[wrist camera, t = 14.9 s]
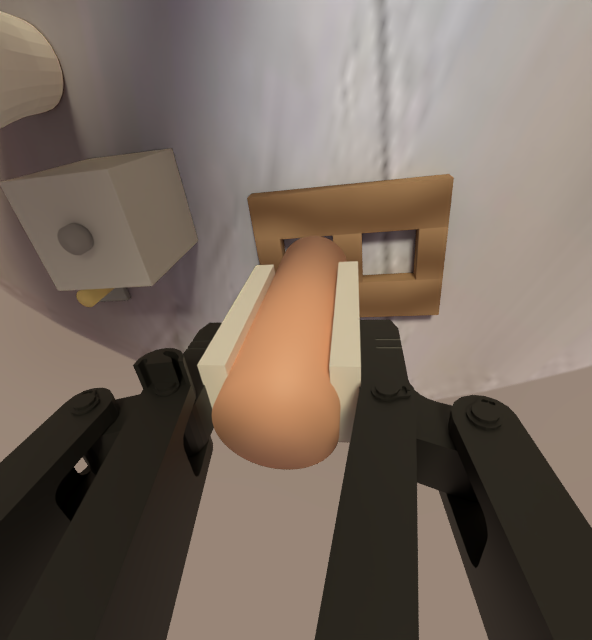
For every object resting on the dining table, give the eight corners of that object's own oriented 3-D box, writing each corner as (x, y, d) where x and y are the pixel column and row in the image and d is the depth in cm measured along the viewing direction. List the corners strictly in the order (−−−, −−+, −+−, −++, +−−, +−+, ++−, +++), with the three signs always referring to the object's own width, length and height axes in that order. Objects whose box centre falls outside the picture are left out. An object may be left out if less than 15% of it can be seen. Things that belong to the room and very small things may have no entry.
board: (251, 193, 30) (247, 198, 29) (448, 173, 27) (453, 178, 26) (273, 312, 36) (270, 320, 35) (435, 306, 34) (438, 314, 32)
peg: (278, 237, 17) (197, 378, 8) (346, 233, 16) (335, 379, 8) (286, 297, 18) (226, 466, 10) (348, 295, 18) (342, 472, 9)
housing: (87, 159, 30) (-13, 185, 22) (172, 148, 29) (99, 171, 21) (122, 246, 35) (50, 295, 26) (198, 240, 33) (146, 291, 25)
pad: (69, 257, 36) (35, 277, 32) (112, 254, 35) (83, 274, 31) (90, 299, 39) (61, 322, 35) (130, 297, 38) (106, 320, 34)
